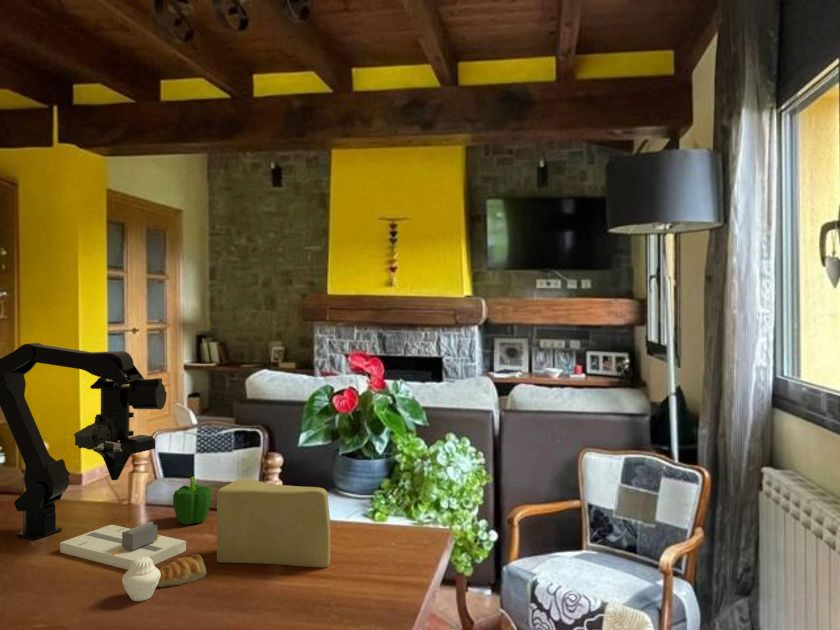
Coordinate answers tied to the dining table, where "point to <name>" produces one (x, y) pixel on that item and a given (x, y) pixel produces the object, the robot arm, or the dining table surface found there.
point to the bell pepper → (192, 503)
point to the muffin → (141, 579)
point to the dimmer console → (119, 547)
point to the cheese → (273, 524)
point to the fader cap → (139, 536)
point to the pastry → (182, 571)
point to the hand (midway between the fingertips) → (114, 479)
